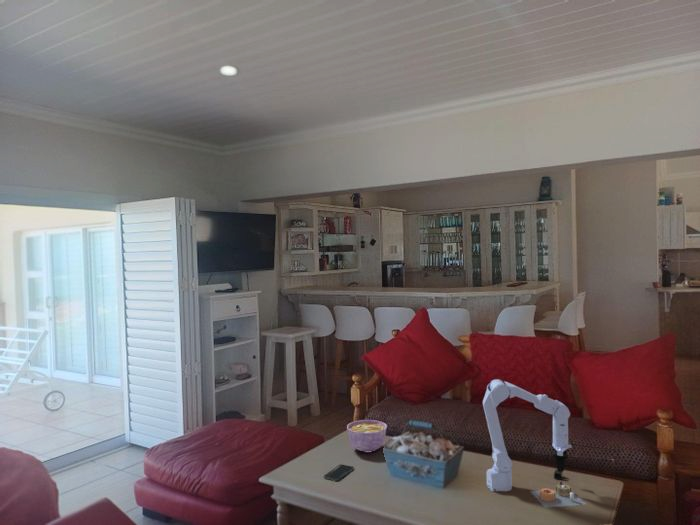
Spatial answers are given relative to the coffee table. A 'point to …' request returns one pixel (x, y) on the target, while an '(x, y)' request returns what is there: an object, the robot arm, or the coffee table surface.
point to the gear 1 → (547, 495)
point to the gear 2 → (563, 489)
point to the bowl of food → (367, 434)
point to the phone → (338, 472)
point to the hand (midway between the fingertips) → (560, 467)
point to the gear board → (560, 500)
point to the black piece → (558, 475)
